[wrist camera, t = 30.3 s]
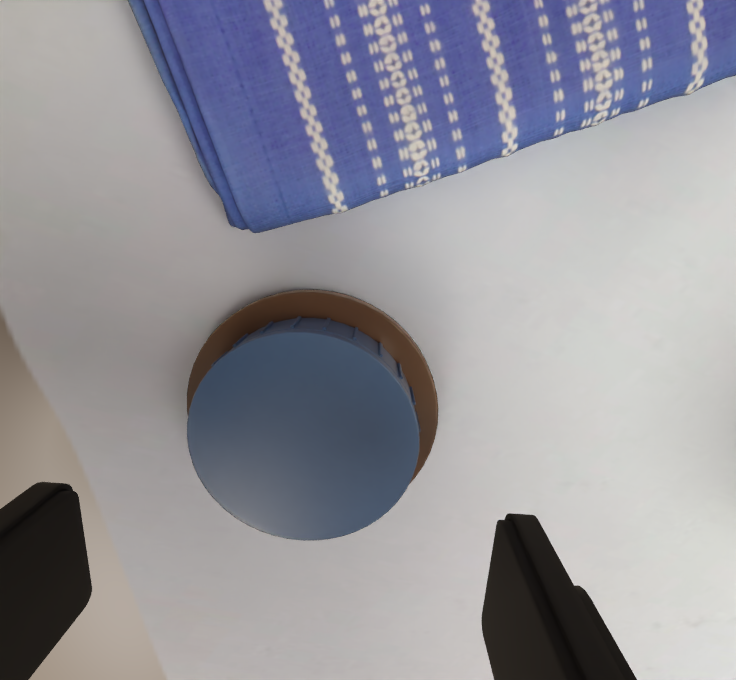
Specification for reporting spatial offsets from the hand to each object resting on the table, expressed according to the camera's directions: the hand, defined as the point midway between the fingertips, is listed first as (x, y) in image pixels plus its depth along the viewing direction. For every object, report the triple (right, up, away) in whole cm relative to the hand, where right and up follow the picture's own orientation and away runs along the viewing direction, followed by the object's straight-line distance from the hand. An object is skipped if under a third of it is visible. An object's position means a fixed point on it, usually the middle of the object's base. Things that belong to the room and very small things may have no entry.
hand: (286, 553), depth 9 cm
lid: (0, +2, +4) cm, 4 cm away
